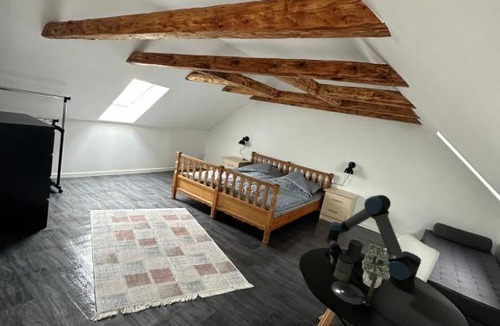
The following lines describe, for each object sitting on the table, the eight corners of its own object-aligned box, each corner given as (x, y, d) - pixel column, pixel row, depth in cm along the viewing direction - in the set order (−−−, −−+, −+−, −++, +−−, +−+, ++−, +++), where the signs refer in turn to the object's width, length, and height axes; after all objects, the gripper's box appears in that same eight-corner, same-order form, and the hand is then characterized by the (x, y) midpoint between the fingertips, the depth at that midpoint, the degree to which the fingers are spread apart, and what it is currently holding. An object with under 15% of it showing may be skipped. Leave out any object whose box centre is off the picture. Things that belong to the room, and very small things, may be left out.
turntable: (358, 285, 181) (358, 284, 181) (370, 307, 161) (370, 306, 161) (328, 279, 181) (328, 278, 181) (336, 300, 161) (336, 299, 161)
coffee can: (331, 270, 192) (337, 252, 189) (346, 274, 191) (352, 255, 188) (334, 279, 182) (340, 260, 179) (350, 283, 181) (356, 264, 178)
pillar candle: (343, 254, 218) (348, 237, 214) (354, 255, 219) (360, 238, 216) (348, 261, 209) (354, 243, 205) (360, 263, 210) (366, 245, 206)
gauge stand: (368, 301, 166) (378, 273, 162) (371, 307, 162) (381, 278, 158) (360, 300, 166) (370, 271, 162) (363, 305, 162) (372, 276, 158)
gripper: (349, 255, 209) (359, 272, 188) (316, 249, 209) (322, 265, 188) (352, 246, 207) (362, 263, 186) (319, 240, 207) (325, 255, 187)
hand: (342, 264), depth 187 cm, fingers open, 13 cm apart
